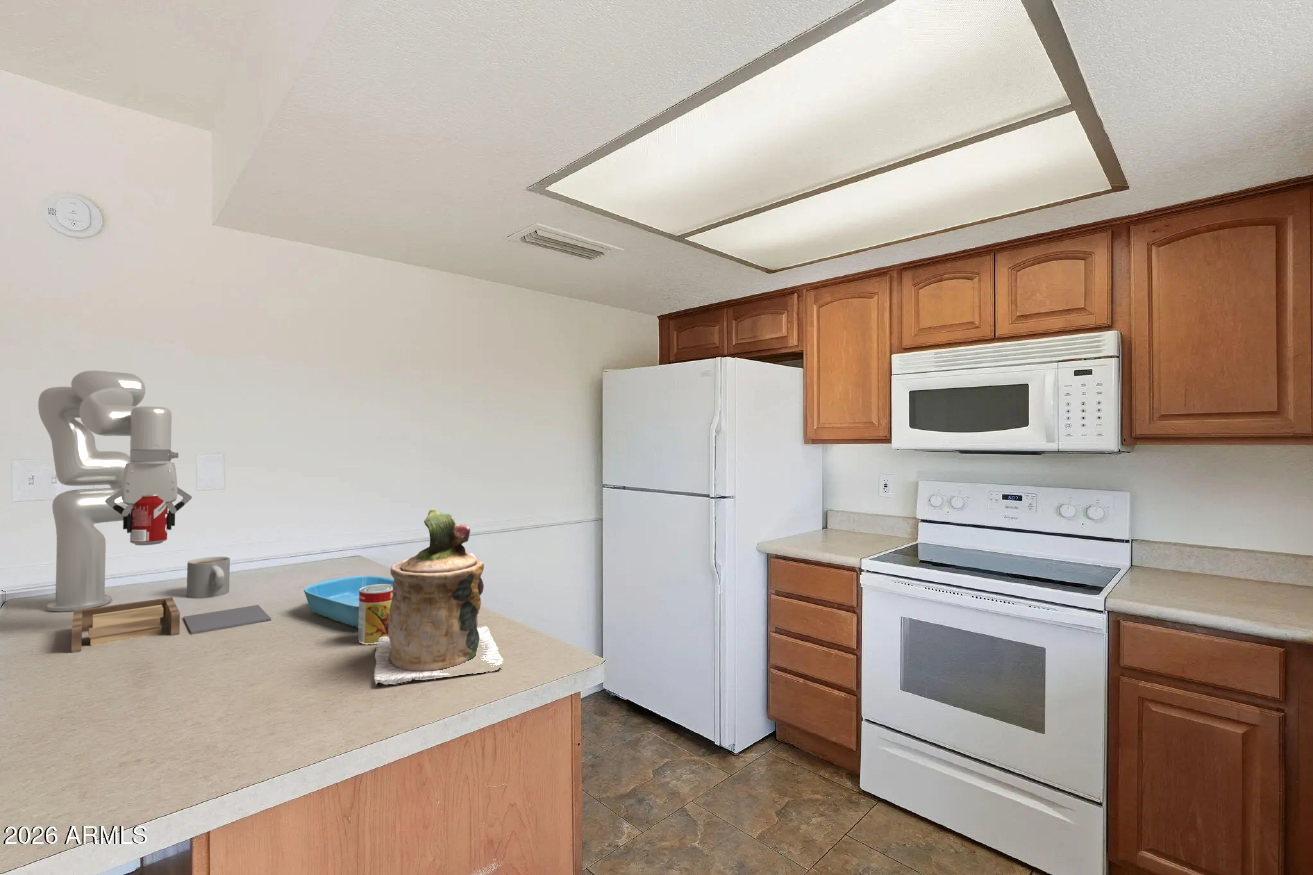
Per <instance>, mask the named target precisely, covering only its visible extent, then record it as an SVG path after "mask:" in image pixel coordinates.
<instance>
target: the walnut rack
mask: <svg viewBox="0 0 1313 875" xmlns="http://www.w3.org/2000/svg"><path fill="white" fill-rule="evenodd" d="M157 605H162V607H163V617H160V621H161V620H164V621H165V623H166V626H167V629H168V631H169V633H170V636H177V635H180V630H181V629H180V628H181V627H180V626H181V625H180V624H181V616H180V615H181V612H180V610H179V609H178V607H177V604H176V602H175V600H174V598H173V597H172V596H171V597H165V598H157V599H149V600H143V601H135V602H128V603H119V604H113V605H103V606H98V607H93V608H88V609H82V610H74V611H73V614H72V623H71V649H70V650H71V653H77V652H81V651H82V645H83V644H82V642H83V639H82V638H83V637H82V636H83V633H84V632H83V631H85V632H89V625H91V624H92V616H93V615H95V614H102V613H109V612H116V611H123V610H130V609H137V608H144V607H151V606H157Z"/></svg>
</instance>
